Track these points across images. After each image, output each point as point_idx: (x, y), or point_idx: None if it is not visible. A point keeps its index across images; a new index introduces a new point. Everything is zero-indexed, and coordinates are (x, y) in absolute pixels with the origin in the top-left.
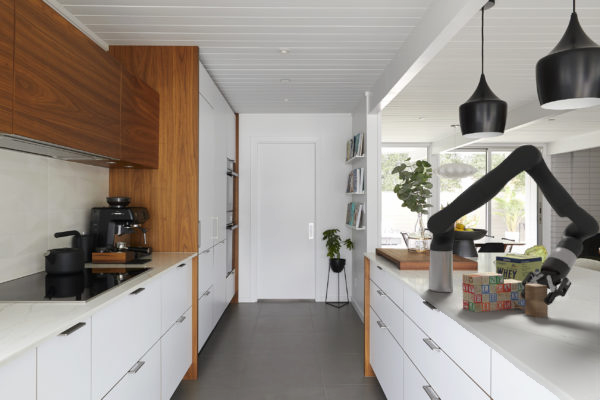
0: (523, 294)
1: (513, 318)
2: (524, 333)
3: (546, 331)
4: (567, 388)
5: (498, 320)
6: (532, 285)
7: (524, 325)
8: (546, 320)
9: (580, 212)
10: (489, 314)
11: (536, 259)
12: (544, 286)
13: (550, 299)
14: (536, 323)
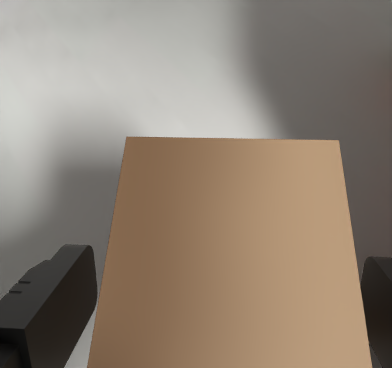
0: (374, 269)
1: (220, 120)
2: (45, 5)
3: (2, 89)
4: None
5: (220, 37)
6: (217, 167)
7: (109, 76)
8: (103, 261)
9: None
10: (328, 70)
11: None
12: (93, 351)
13: (24, 278)
14: (98, 151)
